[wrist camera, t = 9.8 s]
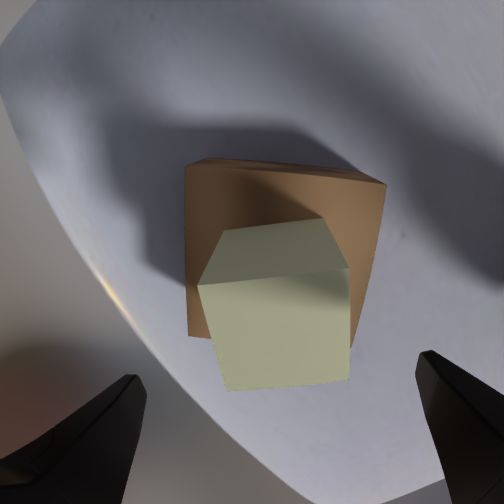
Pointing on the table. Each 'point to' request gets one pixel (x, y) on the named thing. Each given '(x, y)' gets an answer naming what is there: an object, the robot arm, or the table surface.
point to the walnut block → (278, 216)
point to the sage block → (278, 306)
